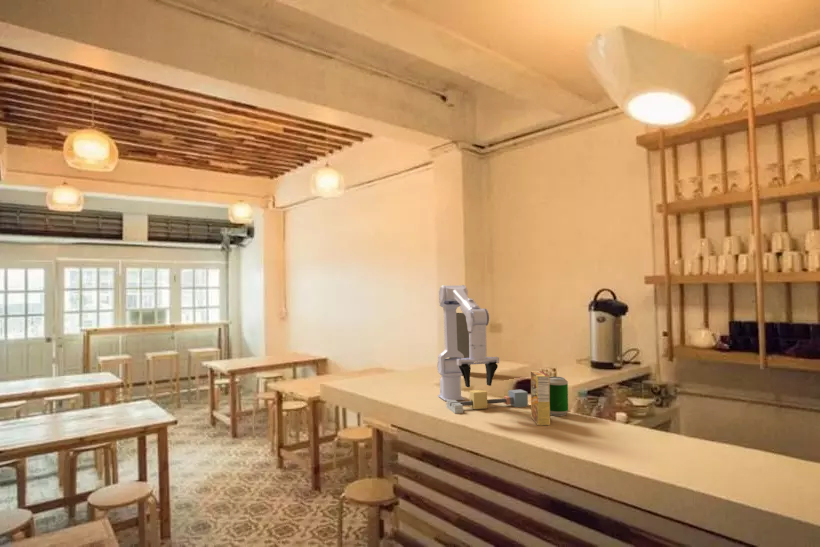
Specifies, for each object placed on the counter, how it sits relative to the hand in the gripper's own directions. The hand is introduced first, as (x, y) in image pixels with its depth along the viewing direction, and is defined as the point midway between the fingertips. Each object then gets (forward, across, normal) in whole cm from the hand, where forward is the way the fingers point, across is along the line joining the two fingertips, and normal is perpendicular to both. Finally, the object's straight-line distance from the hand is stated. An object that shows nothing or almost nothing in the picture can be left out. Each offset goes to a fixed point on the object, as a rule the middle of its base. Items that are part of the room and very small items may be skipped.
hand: (478, 386), depth 162 cm
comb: (+10, -5, +10) cm, 15 cm away
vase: (+10, +23, +80) cm, 84 cm away
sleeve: (+10, +4, +10) cm, 15 cm away
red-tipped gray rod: (+9, +6, +10) cm, 15 cm away
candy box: (+10, +16, -12) cm, 22 cm away
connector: (+10, +20, +10) cm, 24 cm away
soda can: (+10, +26, -5) cm, 29 cm away
